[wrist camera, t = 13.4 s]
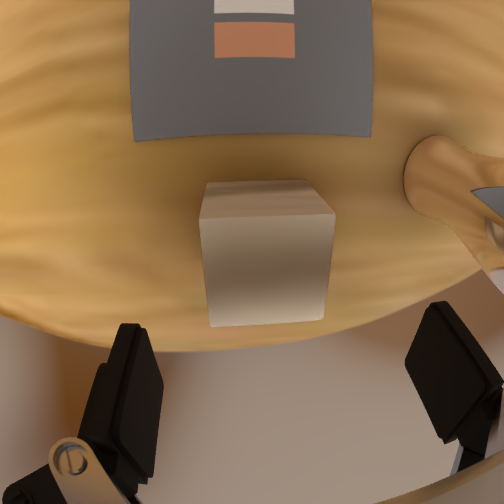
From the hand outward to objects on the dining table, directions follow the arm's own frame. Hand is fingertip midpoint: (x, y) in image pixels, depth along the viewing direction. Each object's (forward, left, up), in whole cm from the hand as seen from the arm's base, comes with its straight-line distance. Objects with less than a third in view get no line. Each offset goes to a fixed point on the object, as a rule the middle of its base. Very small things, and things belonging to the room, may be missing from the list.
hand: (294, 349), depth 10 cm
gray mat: (-12, 0, -11) cm, 17 cm away
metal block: (+1, 0, -12) cm, 12 cm away
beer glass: (-3, +13, -12) cm, 18 cm away
